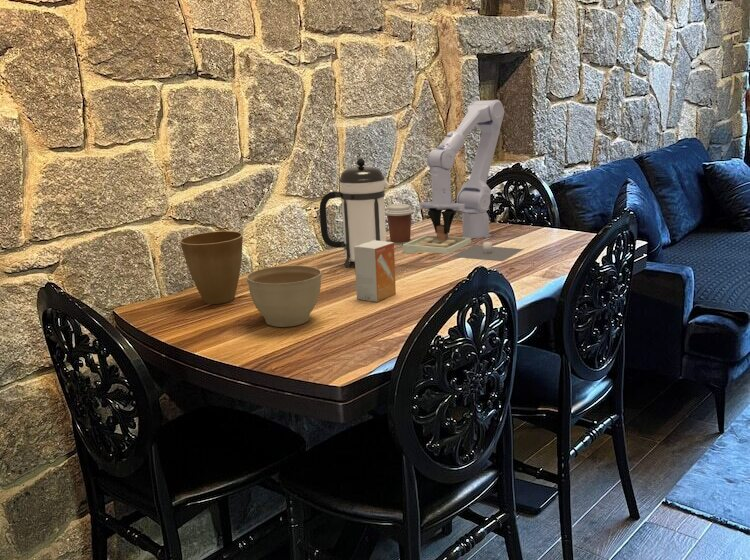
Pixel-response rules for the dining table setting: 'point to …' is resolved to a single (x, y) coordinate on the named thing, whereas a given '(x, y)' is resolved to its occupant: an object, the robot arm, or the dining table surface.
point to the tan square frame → (439, 239)
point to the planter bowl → (285, 293)
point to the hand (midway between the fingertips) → (442, 232)
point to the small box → (375, 270)
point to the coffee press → (358, 209)
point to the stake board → (492, 256)
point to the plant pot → (214, 263)
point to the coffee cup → (399, 223)
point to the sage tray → (413, 248)
